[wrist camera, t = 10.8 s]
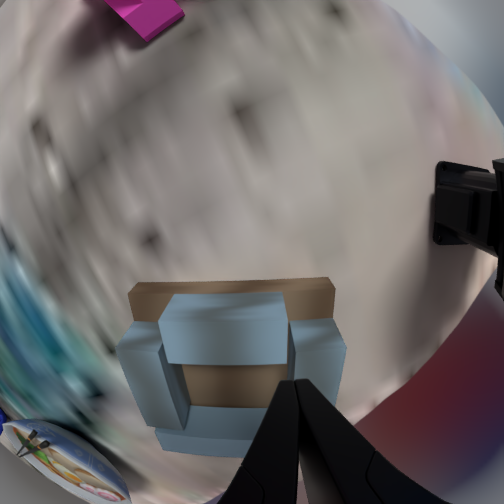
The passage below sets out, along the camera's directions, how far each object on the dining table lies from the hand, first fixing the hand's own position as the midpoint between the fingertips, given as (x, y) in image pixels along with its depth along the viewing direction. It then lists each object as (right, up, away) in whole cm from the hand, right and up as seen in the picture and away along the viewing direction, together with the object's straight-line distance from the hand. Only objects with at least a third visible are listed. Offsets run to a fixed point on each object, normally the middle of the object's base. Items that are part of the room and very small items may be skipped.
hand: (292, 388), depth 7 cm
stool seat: (-3, -5, +14) cm, 15 cm away
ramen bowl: (-29, -26, +21) cm, 44 cm away
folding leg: (-2, -10, +13) cm, 17 cm away
